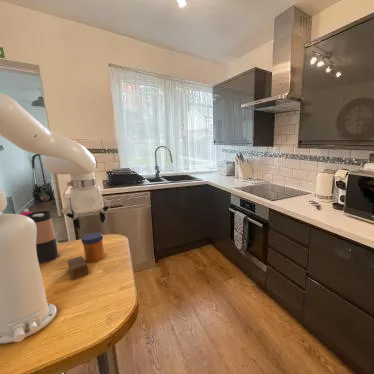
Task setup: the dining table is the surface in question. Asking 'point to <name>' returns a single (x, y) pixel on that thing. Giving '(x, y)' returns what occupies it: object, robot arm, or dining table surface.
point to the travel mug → (44, 236)
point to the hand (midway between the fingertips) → (90, 224)
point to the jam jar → (94, 251)
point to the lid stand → (78, 267)
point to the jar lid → (92, 238)
